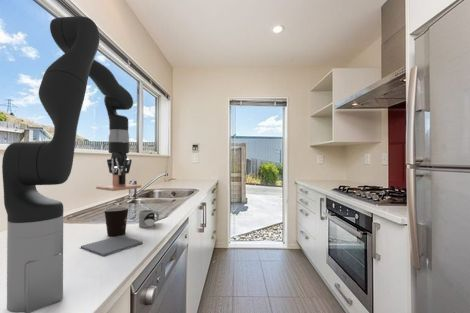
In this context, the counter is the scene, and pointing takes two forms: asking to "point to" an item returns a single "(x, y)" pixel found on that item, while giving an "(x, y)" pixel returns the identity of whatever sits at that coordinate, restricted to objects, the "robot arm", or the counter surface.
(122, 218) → the coffee mug
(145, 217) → the mug
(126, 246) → the mat
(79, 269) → the counter surface
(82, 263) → the counter surface
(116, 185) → the lid
